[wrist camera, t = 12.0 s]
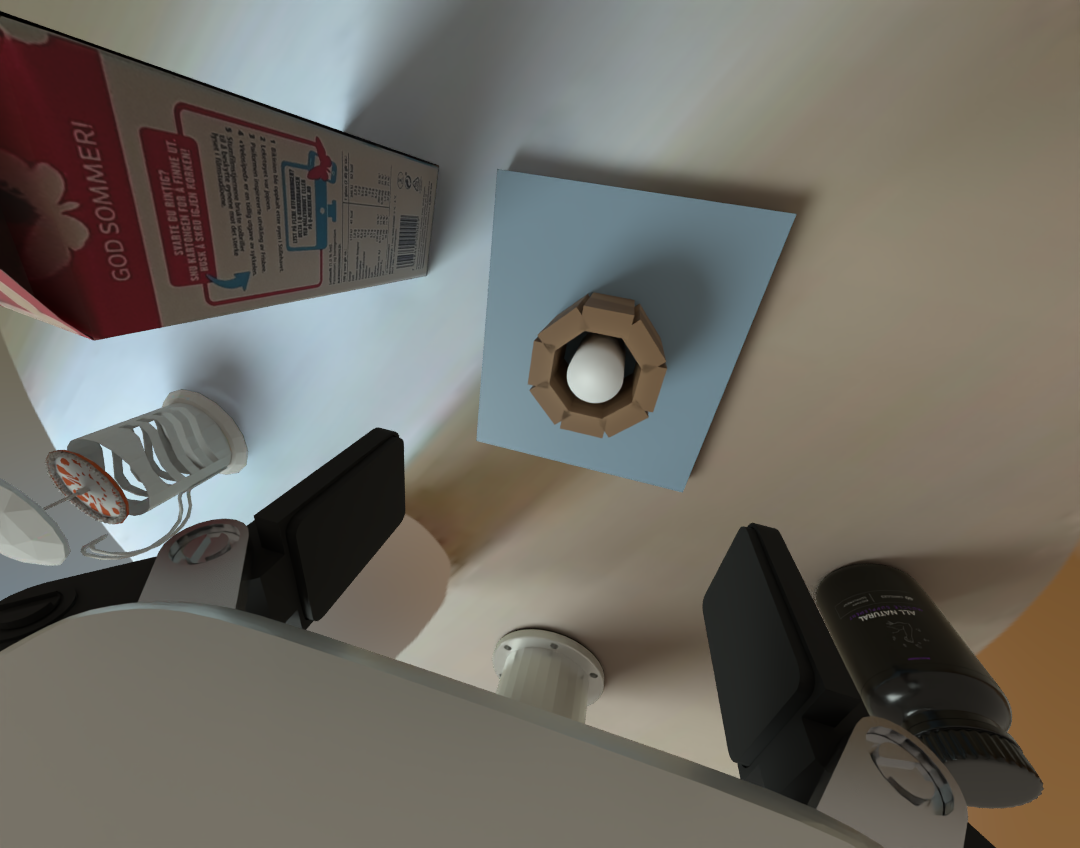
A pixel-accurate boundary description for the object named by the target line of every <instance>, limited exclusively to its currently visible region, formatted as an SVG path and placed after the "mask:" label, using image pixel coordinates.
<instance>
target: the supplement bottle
mask: <svg viewBox="0 0 1080 848" xmlns="http://www.w3.org/2000/svg"><path fill="white" fill-rule="evenodd" d="M816 601H817V605H818V608H819V610H820V612H821V614H822V617H823V619H824V621H825V623H826V626H827V628H828V630H829V632H830V634H831V636H832V638H833V641H834V643H835V645H836V647H837V649H838V651H839V654H840V656H841V658H842V660H843V662H844V664H845V666H846V668H847V670H848V672H849V674H850V676H851V678H852V680H853V682H854V684H855V686H856V688H857V690H858V692H859V694H860V696H861V698H862V701H863V703H864V705H865V707H866V709H867V711H868V713H869V715H870V716H874V717H879V718H883V719H886V720H889V721H891V722H893V723H895V724H897V725H899V726H901V727H902V728H904V729H905V730H907V731H908V732H910V733H911V734H912V735H914V736H915V737H917V738H918V739H919V740H920V741H921V742H922V743H923V744H925V745H926V746H927V747H928V748H929V749H930V750H931V751H932V752H933V753H934V754H935V755H936V756H937V757H938V758H939V760H940V761H941V762H942V763H943V764H944V765H945V766H946V768H947V769H948V770H949V772H950V773H951V775H952V776H953V778H954V779H955V781H956V782H957V784H958V785H959V787H960V789H961V792H962V794H963V796H964V799H965V801H966V804H967V806H971V807H978V808H1007V807H1015V806H1020V805H1023V804H1025V803H1029V802H1031V801H1032V800H1034V799H1037V798H1038V796H1039V795H1041V794H1042V793H1041V791H1042V790H1043V787H1042V786H1043V783H1042V781H1041V779H1040V778H1039V776H1038V774H1037V773H1036V771H1035V770H1034V768H1033V767H1032V766H1031V764H1030V763H1029V761H1028V760H1027V759H1026V758H1025V756H1024V755H1023V752H1022V750H1021V748H1020V746H1019V745H1018V744H1017V743H1016V741H1015V740H1014V739H1013V737H1012V736H1011V735H1010V734H1008V733H1007V732H1008V730H1009V728H1010V726H1011V722H1012V711H1011V707H1010V704H1009V701H1008V699H1007V697H1006V696H1005V695H1004V693H1003V692H1002V690H1001V689H1000V687H999V686H998V685H997V683H996V682H995V681H994V680H993V678H992V677H991V676H990V674H989V673H988V672H987V671H986V669H985V668H984V667H983V665H982V664H981V663H980V662H979V660H978V659H977V658H976V656H975V655H974V654H973V653H972V651H971V650H970V649H969V647H968V646H967V645H966V644H965V642H964V641H963V640H962V638H961V637H960V636H959V635H958V633H957V632H956V631H955V629H954V628H953V627H952V626H951V624H950V623H949V622H948V620H947V619H946V618H945V617H944V615H943V614H942V613H941V611H940V610H939V609H938V608H937V606H936V605H935V604H934V602H933V601H932V600H931V599H930V597H929V596H928V595H927V594H926V592H925V591H924V590H923V589H922V587H921V586H920V585H919V584H918V583H917V582H916V581H915V580H914V579H913V578H912V577H911V576H909V575H908V574H906V573H905V572H903V571H901V570H898V569H896V568H893V567H889V566H886V565H880V564H856V565H851V566H847V567H843V568H841V569H838V570H836V571H834V572H832V573H831V574H829V575H828V576H827V577H825V578H824V579H823V580H822V582H821V583H820V585H819V586H818V589H817V592H816Z"/></svg>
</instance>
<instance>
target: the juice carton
mask: <svg viewBox="0 0 1080 848" xmlns="http://www.w3.org/2000/svg"><path fill="white" fill-rule="evenodd" d="M438 168H439V165H436V164H433V163H430V162H428V161H425V160H422V159H419V158H416V157H413V156H411V155H408V154H405V153H402V152H399V151H396V150H393V149H391V148H388V147H385V146H382V145H379V144H376V143H374V142H371V141H368V140H365V139H362V138H359V137H357V136H354V135H351V134H348V133H345V132H342V131H339V130H337V129H334V128H331V127H328V126H325V125H322V124H320V123H317V122H314V121H311V120H308V119H305V118H303V117H300V116H297V115H294V114H291V113H288V112H286V111H283V110H280V109H277V108H274V107H271V106H268V105H266V104H263V103H260V102H257V101H254V100H251V99H249V98H246V97H243V96H240V95H237V94H234V93H232V92H229V91H226V90H223V89H220V88H217V87H214V86H212V85H209V84H206V83H203V82H200V81H197V80H195V79H192V78H189V77H186V76H183V75H180V74H178V73H175V72H172V71H169V70H166V69H163V68H161V67H158V66H155V65H152V64H149V63H146V62H143V61H141V60H138V59H135V58H132V57H129V56H126V55H124V54H121V53H118V52H115V51H112V50H109V49H107V48H104V47H101V46H98V45H95V44H92V43H89V42H87V41H84V40H81V39H78V38H75V37H72V36H70V35H67V34H64V33H61V32H58V31H55V30H53V29H50V28H47V27H44V26H41V25H38V24H36V23H33V22H30V21H27V20H24V19H21V18H18V17H16V16H13V15H10V14H7V13H4V12H1V11H0V306H3V307H6V308H8V309H11V310H14V311H16V312H19V313H22V314H25V315H27V316H30V317H33V318H35V319H38V320H41V321H43V322H46V323H49V324H51V325H54V326H57V327H59V328H62V329H65V330H67V331H70V332H73V333H75V334H78V335H81V336H83V337H86V338H89V339H91V340H100V339H105V338H110V337H115V336H120V335H125V334H130V333H136V332H141V331H146V330H151V329H156V328H161V327H166V326H171V325H177V324H182V323H187V322H192V321H197V320H202V319H207V318H213V317H218V316H223V315H228V314H233V313H238V312H243V311H249V310H254V309H258V308H263V307H268V306H273V305H278V304H284V303H289V302H294V301H300V300H305V299H310V298H315V297H320V296H326V295H331V294H336V293H341V292H346V291H351V290H356V289H362V288H367V287H372V286H377V285H382V284H387V283H392V282H397V281H403V280H408V279H413V278H418V277H423V276H426V274H427V265H428V256H429V247H430V239H431V230H432V221H433V212H434V203H435V195H436V186H437V177H438Z"/></svg>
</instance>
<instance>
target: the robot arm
mask: <svg viewBox="0 0 1080 848" xmlns="http://www.w3.org/2000/svg"><path fill="white" fill-rule="evenodd" d="M404 515H405V478H404V442H403V440H402V439H401V438H399V435H398V433H397V432H394V431H390V430H386V429H382V428H375V429H373V430H371V431H370V432H369V433H367V434H366V435H365V436H363V437H362V438H360V439H359V440H358V441H356V442H355V443H354V444H352V445H351V446H349V447H348V448H347V449H345V450H344V451H342V452H341V453H340V454H338V455H337V456H336V457H334V458H333V459H331V460H330V461H329V462H327V463H326V464H325V465H323V466H322V467H320V468H319V469H318V470H316V471H315V472H313V473H312V474H311V475H309V476H308V477H307V478H305V479H304V480H302V481H301V482H300V483H298V484H297V485H296V486H294V487H293V488H291V489H290V490H289V491H287V492H286V493H284V494H283V495H282V496H280V497H279V498H278V499H276V500H275V501H273V502H272V503H271V504H269V505H268V506H267V507H265V508H264V509H262V510H261V511H260V512H258V513H257V514H255V515H254V519H255V520H254V521H253V522H252V523H250V524H249V525H247V526H246V525H245V524H244V523H242V522H240V521H237V520H233V519H216V520H210V521H206V522H202V523H198V524H196V525H193V526H191V527H188V528H186V529H184V530H182V531H181V532H179V533H177V534H176V535H174V536H173V537H172V538H170V539H169V540H168V541H167V542H166V543H165V544H164V545H163V547H162V548H161V550H160V551H159V553H158V555H157V557H152V558H148V559H144V560H140V561H135V562H131V563H127V564H123V565H118V566H114V567H110V568H106V569H102V570H97V571H93V572H89V573H84V574H80V575H76V576H72V577H68V578H64V579H59V580H55V581H51V582H46V583H43V584H40V585H36V586H33V587H30V588H27V589H25V590H23V591H20V592H18V593H15V594H13V595H11V596H8V597H7V598H5V599H3V600H1V601H0V848H996V847H994V846H993V845H992V844H991V843H990V842H989V841H988V840H987V839H986V838H984V836H982V835H981V834H980V833H979V832H978V831H977V830H976V829H975V828H974V827H972V826H971V825H970V824H969V823H968V813H967V804H966V801H965V799H964V796H963V794H962V792H961V789H960V787H959V785H958V784H957V782H956V781H955V779H954V778H953V776H952V775H951V773H950V772H949V770H948V769H947V768H946V766H945V765H944V764H943V763H942V762H941V761H940V760H939V758H938V757H937V756H936V755H935V754H934V753H933V752H932V751H931V750H930V749H929V748H928V747H927V746H926V745H925V744H923V743H922V742H921V741H920V740H919V739H918V738H917V737H915V736H914V735H912V734H911V733H910V732H908V731H907V730H905V729H904V728H902V727H901V726H899V725H897V724H895V723H893V722H891V721H889V720H886V719H883V718H879V717H874V716H870V715H869V713H868V711H867V709H866V707H865V705H864V703H863V701H862V698H861V696H860V694H859V692H858V690H857V688H856V686H855V684H854V682H853V680H852V678H851V676H850V674H849V672H848V670H847V668H846V666H845V664H844V662H843V660H842V658H841V656H840V654H839V652H838V650H837V648H836V646H835V643H834V641H833V639H832V637H831V635H830V633H829V631H828V629H827V627H826V625H825V623H824V621H823V619H822V617H821V615H820V613H819V611H818V609H817V607H816V605H815V603H814V601H813V599H812V597H811V595H810V593H809V591H808V589H807V587H806V585H805V583H804V581H803V579H802V576H801V574H800V572H799V570H798V568H797V566H796V564H795V562H794V560H793V558H792V556H791V554H790V552H789V550H788V548H787V546H786V544H785V542H784V540H783V538H782V536H781V534H780V532H779V531H778V530H777V529H775V528H771V527H767V526H763V525H759V524H755V523H751V524H749V525H748V527H741V528H740V529H739V531H738V533H737V535H736V537H735V538H734V540H733V542H732V544H731V546H730V548H729V550H728V552H727V554H726V556H725V558H724V559H723V561H722V563H721V565H720V567H719V569H718V571H717V573H716V575H715V577H714V579H713V581H712V582H711V584H710V586H709V588H708V590H707V592H706V594H705V596H704V599H703V614H704V620H705V625H706V631H707V637H708V642H709V648H710V653H711V659H712V664H713V670H714V675H715V681H716V686H717V692H718V697H719V703H720V708H721V714H722V719H723V725H724V730H725V736H726V741H727V747H728V752H729V755H730V758H731V760H732V761H733V762H736V763H738V769H739V774H740V779H739V778H736V777H733V776H730V775H728V774H725V773H722V772H719V771H717V770H714V769H711V768H709V767H706V766H703V765H700V764H698V763H695V762H692V761H689V760H687V759H684V758H681V757H678V756H675V755H672V754H670V753H667V752H664V751H661V750H658V749H655V748H652V747H649V746H646V745H644V744H641V743H638V742H635V741H632V740H629V739H626V738H623V737H621V736H618V735H615V734H612V733H609V732H606V731H603V730H600V729H597V728H595V727H592V726H589V725H586V724H585V718H586V709H587V706H589V705H591V704H593V703H594V702H596V701H597V700H598V699H599V698H600V696H601V694H602V692H603V688H604V673H603V669H602V667H601V665H600V663H599V661H598V660H597V659H596V658H595V657H594V655H593V654H592V653H591V652H589V651H588V650H587V649H586V648H585V647H584V646H582V645H580V644H579V643H577V642H576V641H574V640H572V639H570V638H568V637H566V636H563V635H560V634H557V633H554V632H550V631H545V630H536V629H527V630H519V631H515V632H512V633H510V634H507V635H505V636H504V637H503V638H502V639H500V641H499V642H498V643H497V645H496V648H495V651H494V653H493V659H492V662H493V668H494V670H495V672H496V674H497V676H498V677H499V679H500V681H499V684H498V688H497V691H496V693H493V692H490V691H487V690H484V689H481V688H478V687H475V686H472V685H469V684H466V683H463V682H460V681H457V680H454V679H451V678H449V677H446V676H443V675H440V674H437V673H434V672H431V671H428V670H425V669H422V668H419V667H416V666H413V665H410V664H407V663H404V662H401V661H398V660H395V659H392V658H389V657H386V656H383V655H380V654H377V653H374V652H371V651H368V650H365V649H362V648H359V647H356V646H353V645H350V644H347V643H344V642H341V641H338V640H335V639H332V638H329V637H326V636H323V635H320V634H317V633H314V632H311V631H307V630H306V629H307V628H308V627H309V625H310V624H311V623H312V622H313V621H318V620H320V619H321V618H322V617H323V616H324V615H325V614H326V613H327V612H328V610H329V609H330V608H331V607H332V606H333V604H334V603H335V602H336V601H337V599H338V598H339V597H340V596H341V595H342V593H343V592H344V591H345V590H346V589H347V587H348V586H349V585H350V584H351V583H352V581H353V580H354V579H355V578H356V577H357V575H358V574H359V573H360V572H361V571H362V569H363V568H364V567H365V566H366V564H367V563H368V562H369V561H370V560H371V558H372V557H373V556H374V555H375V554H376V552H377V551H378V550H379V549H380V548H381V546H382V545H383V544H384V543H385V541H386V540H387V539H388V538H389V537H390V535H391V534H392V533H393V532H394V531H395V529H396V528H397V527H398V526H399V525H400V523H401V522H402V520H403V518H404Z"/></svg>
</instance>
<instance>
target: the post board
mask: <svg viewBox="0 0 1080 848" xmlns="http://www.w3.org/2000/svg"><path fill="white" fill-rule="evenodd" d="M795 217H796V214H793V213H786V212H779V211H773V210H766V209H760V208H753V207H746V206H740V205H733V204H726V203H720V202H713V201H706V200H700V199H693V198H686V197H680V196H673V195H666V194H660V193H653V192H646V191H640V190H633V189H626V188H620V187H613V186H606V185H600V184H593V183H587V182H580V181H573V180H567V179H560V178H553V177H547V176H540V175H533V174H527V173H520V172H513V171H507V170H500V169H497V181H496V194H495V207H494V220H493V233H492V246H491V259H490V272H489V285H488V298H487V311H486V324H485V337H484V350H483V363H482V376H481V389H480V402H479V415H478V428H477V441H480V442H484V443H487V444H491V445H495V446H499V447H503V448H507V449H511V450H515V451H519V452H523V453H527V454H531V455H535V456H539V457H543V458H547V459H551V460H555V461H559V462H563V463H567V464H571V465H575V466H579V467H583V468H587V469H591V470H595V471H599V472H603V473H607V474H611V475H615V476H619V477H623V478H627V479H631V480H635V481H639V482H643V483H647V484H651V485H655V486H659V487H663V488H667V489H671V490H675V491H679V492H683V490H684V488H685V485H686V483H687V481H688V478H689V476H690V473H691V471H692V468H693V466H694V463H695V461H696V459H697V456H698V454H699V451H700V449H701V446H702V444H703V441H704V439H705V437H706V434H707V432H708V429H709V427H710V424H711V422H712V419H713V417H714V415H715V412H716V410H717V407H718V405H719V402H720V400H721V397H722V395H723V393H724V390H725V388H726V385H727V383H728V380H729V378H730V375H731V373H732V371H733V368H734V366H735V363H736V361H737V358H738V356H739V353H740V351H741V349H742V346H743V344H744V341H745V339H746V336H747V334H748V331H749V329H750V327H751V324H752V322H753V319H754V317H755V314H756V312H757V309H758V307H759V305H760V302H761V300H762V297H763V295H764V292H765V290H766V287H767V285H768V283H769V280H770V278H771V275H772V273H773V270H774V268H775V265H776V263H777V261H778V258H779V256H780V253H781V251H782V248H783V246H784V243H785V241H786V239H787V236H788V234H789V231H790V229H791V226H792V224H793V221H794V219H795ZM594 292H595V293H600V294H606V295H611V296H616V297H622V298H627V299H632V300H635V306H637V305H638V304H640V305H641V306H642V308H643V310H644V311H645V313H646V315H647V316H648V318H649V320H650V321H651V323H652V324H653V326H654V328H655V329H656V331H657V333H658V334H659V336H660V338H661V341H662V346H663V350H664V354H665V358H666V366H667V371H666V374H665V377H664V380H663V383H662V386H661V389H660V393H659V396H658V399H657V402H656V405H655V408H654V411H653V412H648V415H649V418H647V419H645V420H643V421H641V422H639V423H637V424H635V425H633V426H631V427H629V428H627V429H625V430H623V431H621V432H619V433H617V434H615V435H613V436H611V437H608V436H607V434H606V433H605V432H604V434H603V438H598V437H594V436H590V435H585V434H581V433H577V432H573V431H569V430H564V429H560V425H561V422H559V423H557V424H555V425H554V423H553V422H552V421H551V419H550V418H549V417H548V415H547V414H546V413H545V411H544V410H543V408H542V407H541V406H540V404H539V403H538V402H537V400H536V399H535V398H534V396H533V395H532V394H531V392H530V391H529V390H530V389H531V387H532V386H533V385H528V378H529V371H530V364H531V357H532V349H533V342H534V340H535V339H536V338H537V337H538V336H537V335H538V334H539V333H540V332H541V331H542V330H543V329H544V328H545V327H546V326H547V325H548V324H549V323H550V322H551V321H552V320H553V319H554V318H555V317H556V316H557V315H559V314H560V313H561V312H563V311H564V310H566V309H567V308H568V307H570V306H571V305H573V304H574V303H575V302H577V301H578V300H580V299H581V298H582V297H584V296H585V295H587V294H588V295H589V296H590V297H591V295H592V294H593V293H594ZM564 359H565V360H566V362H567V363H568V365H569V367H568V370H567V382H568V385H569V387H570V389H571V391H572V392H573V393H574V394H575V395H576V396H577V397H578V398H580V399H581V400H584V401H586V402H590V403H601V402H605V401H608V400H610V399H611V398H613V397H614V396H615V395H616V394H617V393H618V392H619V390H620V389H621V387H622V384H623V378H625V377H627V376H629V375H630V374H632V373H633V371H634V367H635V364H636V359H635V358H634V356H633V355H632V353H631V352H630V350H629V348H628V347H627V345H626V344H625V342H624V340H623V339H622V338H618V337H613V336H608V335H603V334H598V333H593V332H588V331H584V332H582V333H581V334H579V335H578V336H576V337H575V338H573V339H572V340H570V341H569V342H567V346H566V351H565V357H564Z"/></svg>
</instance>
